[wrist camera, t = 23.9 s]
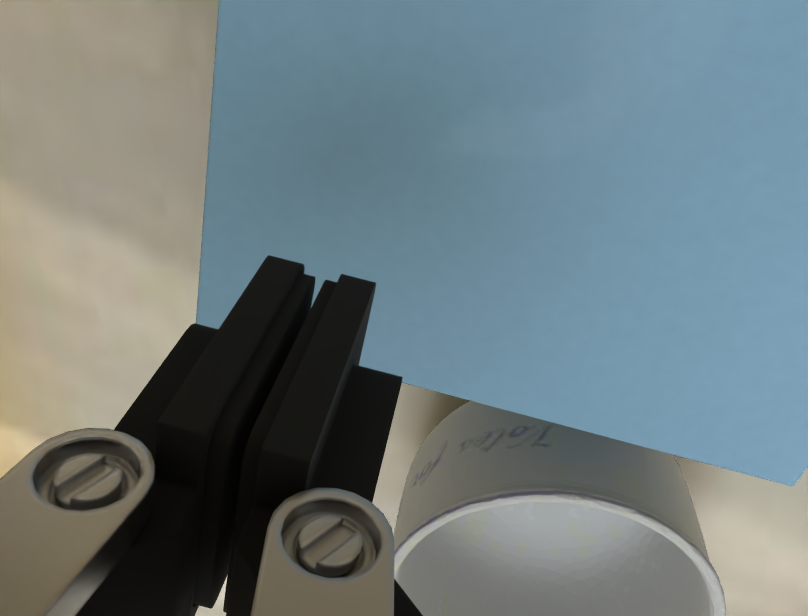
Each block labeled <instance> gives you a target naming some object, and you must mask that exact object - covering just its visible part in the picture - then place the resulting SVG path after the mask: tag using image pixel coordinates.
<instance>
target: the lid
mask: <svg viewBox="0 0 808 616" xmlns="http://www.w3.org/2000/svg"><path fill="white" fill-rule="evenodd" d="M268 255H270V256H274V257H278V258H282V259H286V260H290V261H294V262H298V263H302V264H304V266H305V272H304V274H307V275H311V276H314V277H315V288H314V293H313V299H312V305H313V303H314V301H315V299H316V297H317V295H318V293H319V291H320V289H321V287H322V285H323V283H324V281H325V280H330V281H334V282H337V281H338V279H339V277H340V275H341V274H345V275H348V276H352V277H356V278H360V279H364V280H368V281H372V282H376V288H375V294H374V298H373V303H372V307H371V312H370V316H369V321H368V325H367V330H366V335H365V339H364V344H363V348H362V353H361V357H360V362H359V366H362V367H366V368H370V369H374V370H378V371H382V372H386V373H390V374H393V375H397V376H401V377H403V379H402V383H406V384H410V385H413V386H417V387H421V388H425V389H428V390H432V391H436V392H440V393H443V394H447V395H451V396H455V397H458V398H462V399H466V400H470V401H473V402H477V403H481V404H485V405H488V406H492V407H496V408H500V409H504V410H507V411H511V412H515V413H519V414H522V415H526V416H530V417H534V418H537V419H541V420H545V421H549V422H552V423H556V424H560V425H564V426H567V427H571V428H575V429H579V430H582V431H586V432H590V433H594V434H597V435H601V436H605V437H609V438H612V439H616V440H620V441H624V442H627V443H631V444H635V445H639V446H642V447H646V448H650V449H654V450H657V451H661V452H665V453H669V454H672V455H676V456H680V457H684V458H687V459H691V460H695V461H699V462H702V463H706V464H710V465H714V466H717V467H721V468H725V469H729V470H732V471H736V472H740V473H744V474H747V475H751V476H755V477H759V478H762V479H766V480H770V481H774V482H777V483H781V484H785V485H789V486H794V485H795V484H796V482H797V481H798V480H799V478H800V477H801V475H802V474H803V472H804V471H805V470H806V468H807V467H808V0H219V6H218V20H217V34H216V48H215V62H214V76H213V90H212V104H211V118H210V132H209V146H208V160H207V174H206V188H205V202H204V216H203V230H202V244H201V258H200V272H199V286H198V300H197V314H196V324H200V325H204V326H208V327H211V328H215V329H219V328H220V326H221V325H222V323H223V322H224V320H225V319H226V317H227V316H228V314H229V313H230V311H231V310H232V308H233V307H234V305H235V304H236V302H237V301H238V299H239V298H240V296H241V295H242V293H243V292H244V290H245V289H246V287H247V286H248V284H249V283H250V281H251V280H252V278H253V276H254V275H255V273H256V272H257V270H258V269H259V267H260V266H261V264H262V263H263V261H264V260H265V258H266V257H267V256H268ZM312 305H311V307H312Z"/></svg>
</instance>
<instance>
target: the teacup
mask: <svg viewBox="0 0 808 616" xmlns="http://www.w3.org/2000/svg"><path fill="white" fill-rule="evenodd" d="M394 544H395V546H394V579H395V580H396V581H397V582H398V584H399V585H400V586H401V588H402V589H403V590H404V592H405V593H406V594H407V595H408V597H409V598H410V599H411V601H412V602H413V603H414V605H415V606H416V607H417V609H418V610H419V611H420V612H421V614H422V615H423V616H726V606H725V599H724V592H723V589H722V586H721V584H720V580H719V577H718V575H717V574H716V572H715V570H714V568H713V566H712V564H711V563H710V561H709V557H708V554H707V550H706V546H705V543H704V539H703V535H702V532H701V529H700V525H699V522H698V519H697V515H696V512H695V509H694V505H693V502H692V499H691V496H690V493H689V491H688V488H687V485H686V482H685V480H684V477H683V475H682V473H681V470H680V468H679V466H678V463H677V462H676V460H675V458H674V457H673V455H672V454H669V453H665V452H661V451H657V450H654V449H650V448H646V447H642V446H639V445H635V444H631V443H627V442H624V441H620V440H616V439H612V438H609V437H605V436H601V435H597V434H594V433H590V432H586V431H582V430H579V429H575V428H571V427H567V426H564V425H560V424H556V423H552V422H549V421H545V420H541V419H537V418H534V417H530V416H526V415H522V414H519V413H515V412H511V411H507V410H504V409H500V408H496V407H492V406H488V405H485V404H481V403H477V402H473V401H469V402H467V403H465V404H464V405H462V406H460V407H459V408H457V409H456V410H454V411H453V412H452V413H450V414H449V415H448V416H446V417H445V418H444V419H443V420H442V421H441V422H440V423H439V424H438V425H437V426H436V427H435V428H434V429H433V430H432V431H431V432H430V434H429V435H428V436H427V438H426V439H425V440H424V442H423V443H422V445H421V447H420V448H419V450H418V452H417V454H416V456H415V458H414V460H413V462H412V465H411V467H410V470H409V473H408V476H407V479H406V483H405V487H404V491H403V494H402V498H401V502H400V507H399V512H398V517H397V522H396V527H395V532H394Z"/></svg>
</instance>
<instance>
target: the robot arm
mask: <svg viewBox="0 0 808 616" xmlns="http://www.w3.org/2000/svg"><path fill="white" fill-rule="evenodd" d="M304 272H305V266H304V264H302V263H298V262H294V261H290V260H286V259H282V258H278V257H274V256H270V255H268V256H267V257H266V258H265V260H264V261H263V263H262V264H261V266H260V267H259V269H258V270H257V272H256V273H255V275H254V276H253V278H252V280H251V281H250V283H249V284H248V286H247V287H246V289H245V290H244V292H243V293H242V295H241V296H240V298H239V299H238V301H237V302H236V304H235V305H234V307H233V308H232V310H231V311H230V313H229V314H228V316H227V317H226V319H225V320H224V322H223V323H222V325H221V326H220V328H219V329H215V328H211V327H208V326H204V325H200V324H192V325H191V326H190V327H189V328H188V329H187V330H186V331H185V333H184V334H183V336H182V337H181V338H180V340H179V341H178V342H177V344H176V345H175V347H174V348H173V349H172V351H171V352H170V353H169V355H168V356H167V358H166V359H165V360H164V362H163V363H162V364H161V366H160V367H159V369H158V370H157V371H156V373H155V374H154V375H153V377H152V378H151V380H150V381H149V382H148V384H147V385H146V386H145V388H144V389H143V391H142V392H141V393H140V395H139V396H138V397H137V399H136V400H135V401H134V403H133V404H132V406H131V407H130V408H129V410H128V411H127V412H126V414H125V415H124V417H123V418H122V419H121V421H120V422H119V423H118V425H117V426H116V428H115V429H114V430H111V429H102V428H86V429H80V430H74V431H68V432H65V433H63V434H60V435H57V436H55V437H52V438H50V439H48V440H46V441H45V442H43V443H42V444H41V445H39V446H38V447H36V448H35V449H33V450H32V451H31V452H30V453H29V454H28V455H26V456H25V457H24V458H23V459H22V460H21V461H20V462H19V463H17V464H16V465H15V466H14V467H13V468H12V469H11V470H10V471H8V472H7V473H6V474H5V475H4V476H3V477H2V478H1V479H0V616H195V613H196V611H197V609H198V607H199V605H200V606H203V607H207V608H212V607H213V606H214V604H215V602H216V600H217V598H218V596H219V593H220V591H221V588H222V586H223V584H224V581H225V579H226V577H227V574H228V577H227V584H226V592H225V600H224V609H223V611H224V612H226V613H227V614H226V616H423V615H422V614H421V612H420V611H419V610H418V609H417V607H416V606H415V605H414V603H413V602H412V601H411V599H410V598H409V597H408V595H407V594H406V593H405V592H404V590H403V589H402V588H401V586H400V585H399V584H398V582H397V581H396V580H395V579H394V546H395V544H394V538H393V533H392V528H391V526H390V525H389V523H388V521H387V519H386V518H385V516H384V514H383V513H382V512H381V511H380V510H379V509H378V508H377V507H376V506H375V505H374V504H372V501H373V497H374V493H375V488H376V484H377V480H378V476H379V472H380V468H381V464H382V460H383V456H384V452H385V448H386V444H387V440H388V436H389V432H390V428H391V424H392V419H393V415H394V411H395V407H396V403H397V399H398V395H399V391H400V387H401V383H402V379H403V377H401V376H397V375H393V374H390V373H386V372H382V371H378V370H374V369H370V368H366V367H362V366H359V362H360V357H361V353H362V348H363V344H364V339H365V335H366V330H367V325H368V321H369V316H370V312H371V307H372V303H373V298H374V294H375V288H376V282H372V281H368V280H364V279H360V278H356V277H352V276H348V275H345V274H341V275H340V277H339V279H338V281H337V282H334V281H330V280H325V281H324V283H323V285H322V287H321V289H320V291H319V293H318V295H317V297H316V299H315V301H314V303H313V305H312V299H313V293H314V288H315V277H314V276H311V275H307V274H304ZM311 305H312V307H311Z"/></svg>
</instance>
